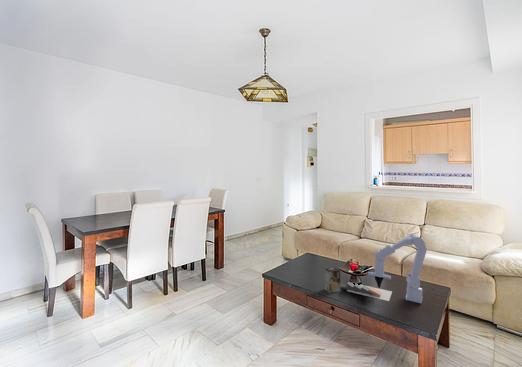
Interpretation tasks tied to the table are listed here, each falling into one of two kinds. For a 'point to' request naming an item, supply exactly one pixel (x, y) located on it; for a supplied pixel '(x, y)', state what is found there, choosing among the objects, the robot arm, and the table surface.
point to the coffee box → (332, 280)
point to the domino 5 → (374, 291)
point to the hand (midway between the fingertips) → (379, 287)
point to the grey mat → (384, 295)
